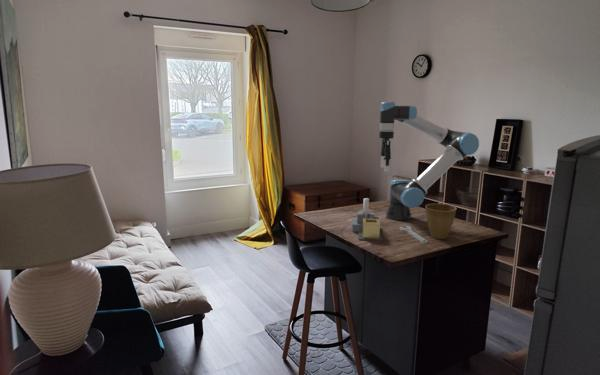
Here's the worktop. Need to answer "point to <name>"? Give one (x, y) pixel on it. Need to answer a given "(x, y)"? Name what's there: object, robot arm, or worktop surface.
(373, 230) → the brass collar
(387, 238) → the worktop surface
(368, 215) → the vise
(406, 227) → the adjustable wrench
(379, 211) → the worktop surface
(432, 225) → the plant pot
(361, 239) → the rubber mat
